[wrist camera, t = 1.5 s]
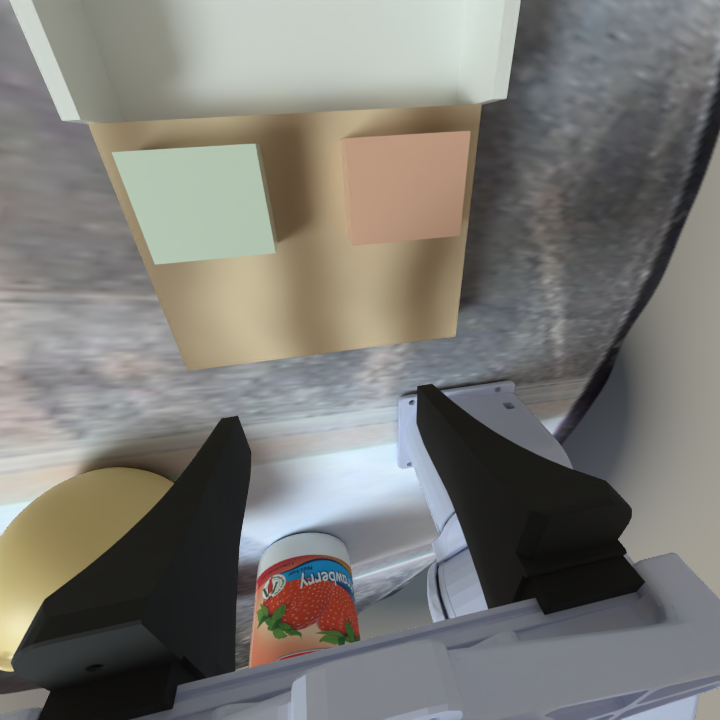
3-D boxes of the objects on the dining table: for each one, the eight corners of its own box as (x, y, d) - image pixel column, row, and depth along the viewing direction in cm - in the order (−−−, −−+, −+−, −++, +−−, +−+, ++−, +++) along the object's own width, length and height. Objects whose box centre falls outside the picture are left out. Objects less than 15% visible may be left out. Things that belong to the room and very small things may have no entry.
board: (458, 110, 17) (481, 103, 14) (440, 319, 23) (455, 336, 21) (117, 127, 15) (88, 123, 13) (198, 348, 21) (187, 370, 19)
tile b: (260, 144, 14) (255, 143, 12) (278, 242, 16) (275, 253, 14) (134, 152, 13) (111, 152, 12) (170, 252, 16) (154, 264, 14)
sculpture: (74, 546, 29) (-27, 726, 20) (23, 447, 23) (-155, 640, 14) (214, 537, 31) (181, 693, 22) (202, 445, 25) (150, 608, 16)
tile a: (451, 133, 15) (470, 130, 13) (443, 227, 17) (459, 235, 15) (340, 140, 14) (346, 137, 13) (347, 236, 16) (353, 245, 15)
